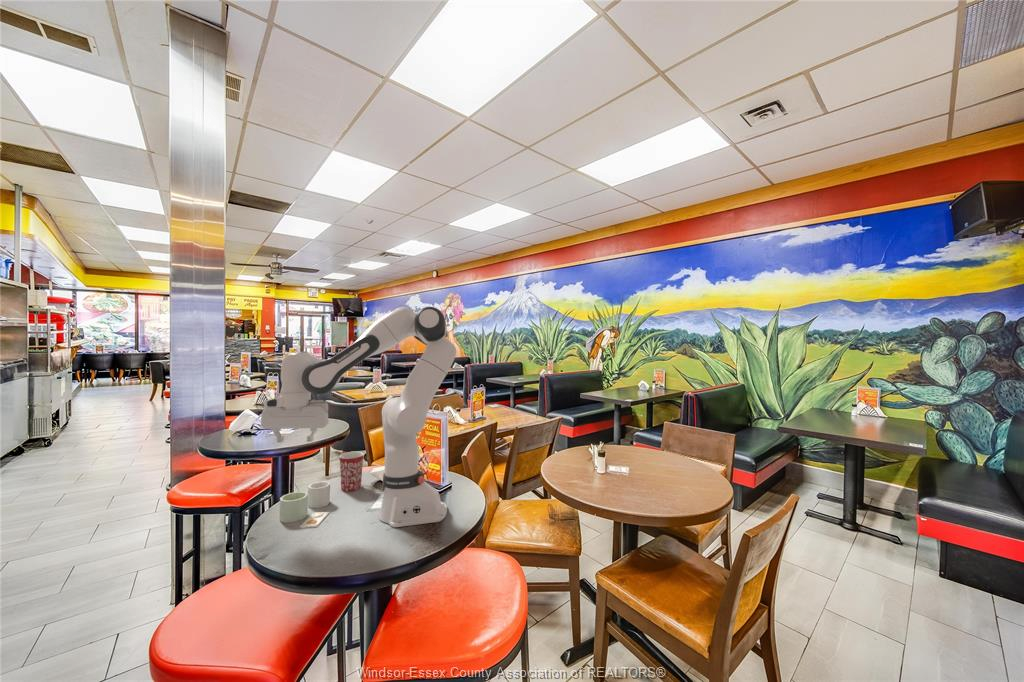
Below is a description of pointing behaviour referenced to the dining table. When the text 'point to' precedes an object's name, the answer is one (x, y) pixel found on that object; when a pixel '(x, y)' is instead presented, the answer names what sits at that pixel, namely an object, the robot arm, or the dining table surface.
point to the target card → (314, 520)
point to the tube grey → (318, 494)
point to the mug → (351, 471)
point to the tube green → (293, 507)
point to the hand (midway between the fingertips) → (295, 441)
